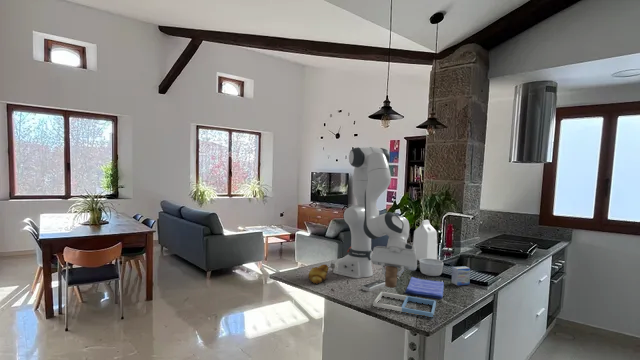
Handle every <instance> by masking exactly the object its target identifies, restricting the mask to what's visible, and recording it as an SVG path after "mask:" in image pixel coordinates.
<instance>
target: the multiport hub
mask: <svg viewBox="0 0 640 360" xmlns="http://www.w3.org/2000/svg"><path fill="white" fill-rule="evenodd" d="M385 287H386V286H385V280H383V279H382V280H381V279H378V280H375V281H372V282H370V283H367V284H363V285H362V288H361V290H362V289H364V290H366V291H365V292H367V291H371V292H373V291H376V290H378V288H379V289H381V288H385ZM375 289H376V290H375ZM364 290H363V291H364ZM372 290H373V291H372Z"/></svg>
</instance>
